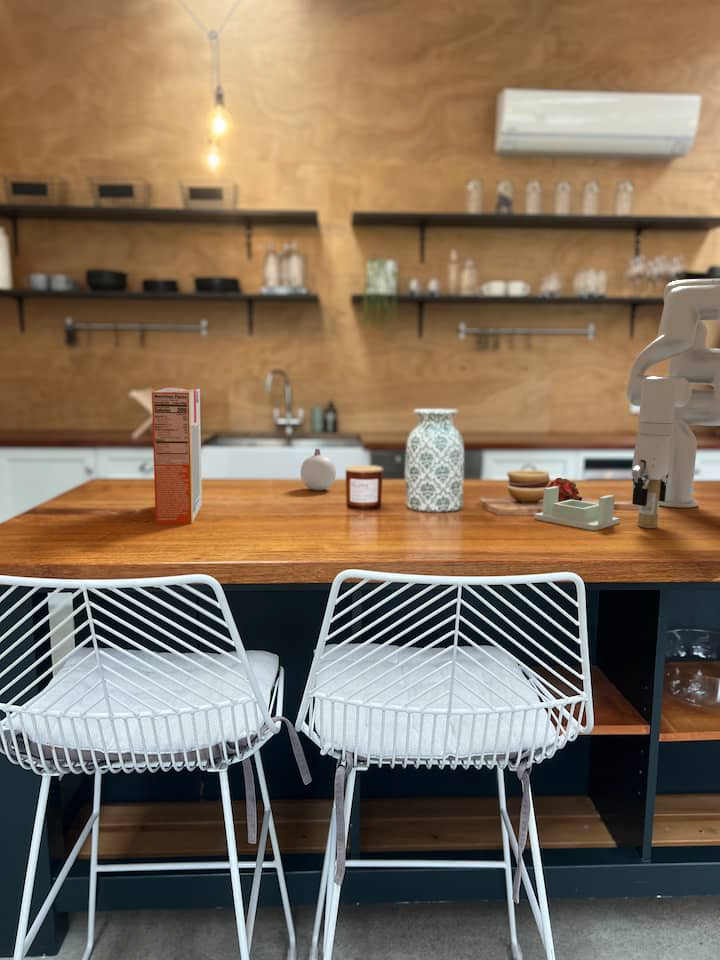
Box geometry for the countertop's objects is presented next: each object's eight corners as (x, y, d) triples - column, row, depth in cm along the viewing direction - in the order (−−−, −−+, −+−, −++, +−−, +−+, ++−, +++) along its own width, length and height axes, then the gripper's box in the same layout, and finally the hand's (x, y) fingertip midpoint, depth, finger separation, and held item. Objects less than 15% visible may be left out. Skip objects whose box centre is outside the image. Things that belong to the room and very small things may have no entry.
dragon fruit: (557, 508, 200) (569, 524, 188) (534, 490, 198) (544, 505, 187) (578, 484, 198) (591, 499, 186) (555, 466, 196) (567, 480, 185)
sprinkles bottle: (661, 527, 172) (666, 471, 169) (649, 529, 169) (654, 472, 167) (644, 523, 175) (649, 468, 173) (632, 525, 173) (637, 469, 171)
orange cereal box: (170, 504, 188) (167, 387, 183) (201, 503, 189) (199, 388, 184) (155, 524, 166) (151, 392, 161) (191, 523, 167) (188, 392, 162)
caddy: (560, 512, 186) (562, 484, 185) (619, 523, 175) (621, 493, 174) (534, 518, 178) (536, 490, 177) (594, 530, 167) (596, 500, 166)
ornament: (304, 486, 218) (304, 446, 216) (338, 487, 216) (338, 447, 214) (297, 492, 208) (297, 450, 206) (332, 493, 206) (332, 452, 204)
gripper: (655, 428, 177) (649, 497, 179) (622, 430, 165) (616, 504, 167) (686, 430, 172) (679, 501, 174) (654, 433, 160) (647, 509, 162)
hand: (648, 502), depth 171 cm, fingers open, 9 cm apart
